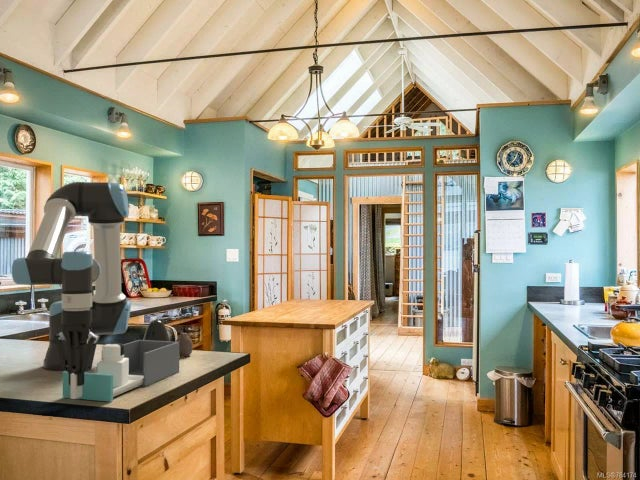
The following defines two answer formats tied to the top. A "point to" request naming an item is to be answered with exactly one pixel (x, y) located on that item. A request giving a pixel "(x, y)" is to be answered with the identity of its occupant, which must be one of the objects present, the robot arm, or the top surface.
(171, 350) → the bay
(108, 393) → the tray
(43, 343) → the top surface
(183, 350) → the vase
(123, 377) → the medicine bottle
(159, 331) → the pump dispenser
